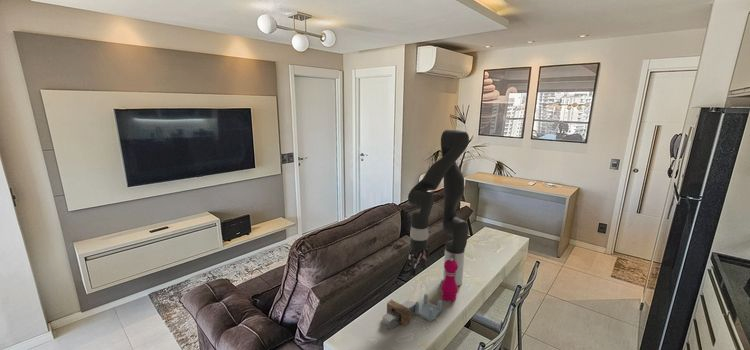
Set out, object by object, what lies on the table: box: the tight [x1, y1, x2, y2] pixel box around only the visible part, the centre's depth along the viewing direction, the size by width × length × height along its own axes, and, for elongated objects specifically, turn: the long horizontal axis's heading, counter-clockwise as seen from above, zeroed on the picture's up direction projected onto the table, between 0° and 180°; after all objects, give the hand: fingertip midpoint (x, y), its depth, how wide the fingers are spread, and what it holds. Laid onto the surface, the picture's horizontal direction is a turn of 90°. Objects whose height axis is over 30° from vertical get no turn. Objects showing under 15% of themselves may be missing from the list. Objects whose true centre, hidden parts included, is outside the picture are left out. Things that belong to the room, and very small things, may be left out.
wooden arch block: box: [386, 299, 411, 327], centre depth 129 cm, size 3×10×6 cm, turn 49°
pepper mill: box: [440, 257, 459, 302], centre depth 141 cm, size 7×7×20 cm
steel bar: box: [382, 299, 416, 330], centre depth 130 cm, size 16×4×4 cm, turn 133°
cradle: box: [413, 293, 443, 322], centre depth 133 cm, size 9×8×5 cm
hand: (417, 271), depth 135 cm, fingers open, 7 cm apart
